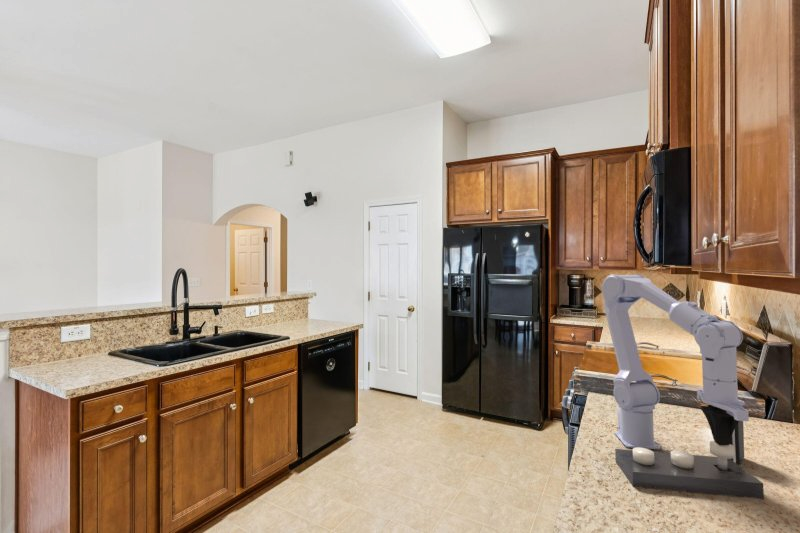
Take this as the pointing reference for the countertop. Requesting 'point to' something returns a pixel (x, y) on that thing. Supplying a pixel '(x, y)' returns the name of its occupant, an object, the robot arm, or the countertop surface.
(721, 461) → the knob
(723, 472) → the mount plate
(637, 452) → the knob
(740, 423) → the battery charger
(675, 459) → the knob mid
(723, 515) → the countertop surface
